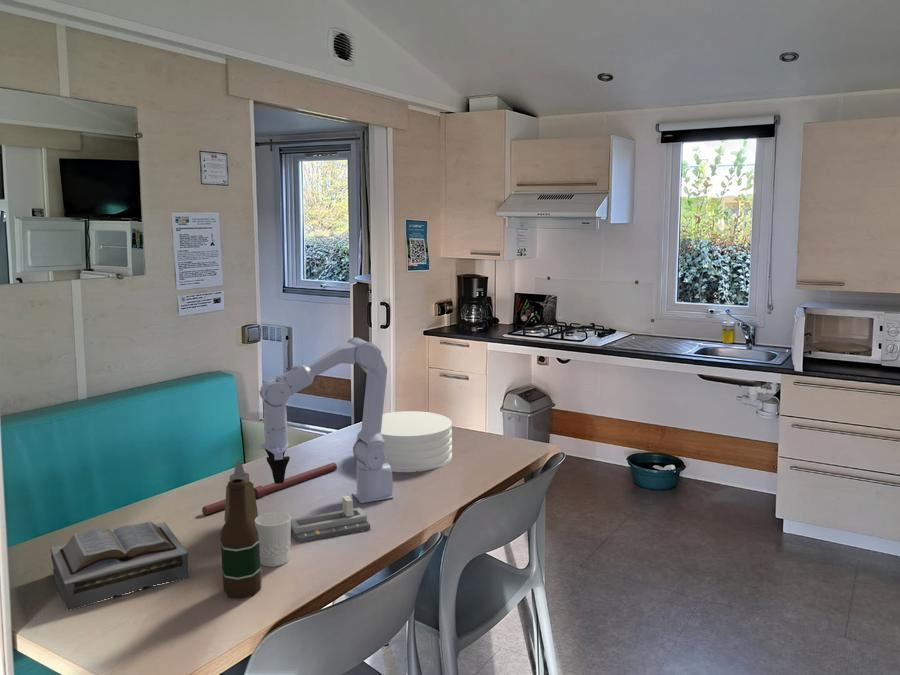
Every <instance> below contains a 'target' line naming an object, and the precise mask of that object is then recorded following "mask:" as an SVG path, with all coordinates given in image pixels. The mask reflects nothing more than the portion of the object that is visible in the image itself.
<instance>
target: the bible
mask: <svg viewBox="0 0 900 675" xmlns="http://www.w3.org/2000/svg"><path fill="white" fill-rule="evenodd" d="M49 550H50V554H51V555H50V558H51V562H52V565H53V569H52V574H53V579H54V578H55V579H54V581H55V580H56V581H55V584H56V585H57V589H58V588H59V589H58V590H59V593H61V594H60V596H62V597H61V599H62V598H63V599H62V601H63V604H64V603H65V604H64V606H66V607H65V608H67V609H68V610H70V609H73V610H75V609H74V608H76V609H79V608H78V607H80V608H82V607H81V606H84V605H88V604H90V605H92V604H91V603H94V602H97V601H101V600H104V599H108V598H111V597H113V598H114V596H120V595H122V594H125V593H129V592H132V591H135V592H137V591H139V589H142V590H143V589H144V588H145V587H153V585H157V584H162V583H166V582H170V583H173V582H172V581H174V582H177V581H181V580H183V578H185V579H188V577H189V578H190V574H189V573H190V572H189V561H188V560H189V558H188V555H189V554H188V553H189V552H188V551H187V549H186V547H185V546H184V545H183V544H182V543H181V541H180V540H179V539H178V537H176V535H175V533H173V531H172V530H171V529H170V527H169V526H168V525H167V524H166V522H158V523H154V522H152V521H150V520H149V521H144V522H141V523H140V522H139V523H133V524H125V525H122V526H120V527H118V528H115V529H114V530H112V531H111V529H109V528H107V527H95V528H92V529H88V530H85V531H80V532H79V531H78V532H76V533H74V534H73V535H72V536H71V538H70V539H69V541H67V543H65V544H64V543H63V544H59V545H57V546H52V547H50V549H49ZM180 579H181V580H180ZM176 580H177V581H176ZM157 586H158V585H157ZM136 590H137V591H136ZM88 606H89V605H88ZM84 607H85V606H84ZM67 609H66V610H67ZM70 611H71V610H70Z"/></svg>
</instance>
